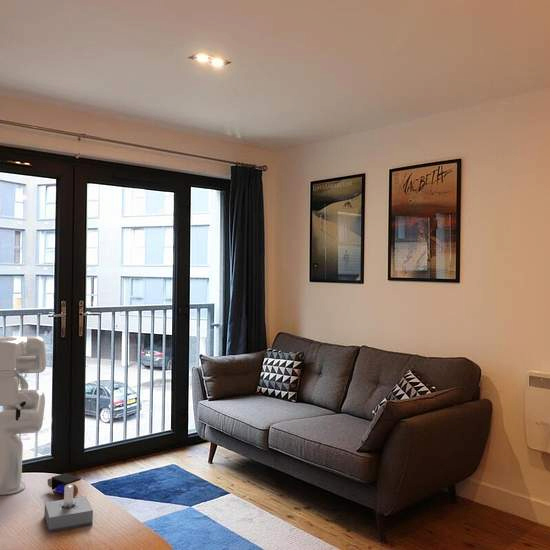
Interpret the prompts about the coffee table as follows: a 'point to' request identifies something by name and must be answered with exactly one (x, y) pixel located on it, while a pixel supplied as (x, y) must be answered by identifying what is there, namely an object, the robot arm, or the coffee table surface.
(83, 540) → the coffee table surface
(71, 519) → the bore block
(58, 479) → the figurine character
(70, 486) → the aluminium pin
